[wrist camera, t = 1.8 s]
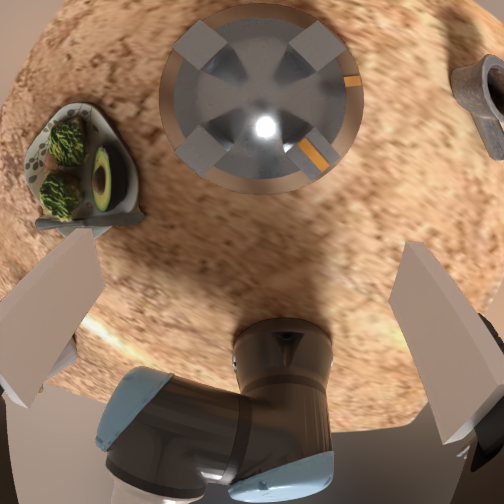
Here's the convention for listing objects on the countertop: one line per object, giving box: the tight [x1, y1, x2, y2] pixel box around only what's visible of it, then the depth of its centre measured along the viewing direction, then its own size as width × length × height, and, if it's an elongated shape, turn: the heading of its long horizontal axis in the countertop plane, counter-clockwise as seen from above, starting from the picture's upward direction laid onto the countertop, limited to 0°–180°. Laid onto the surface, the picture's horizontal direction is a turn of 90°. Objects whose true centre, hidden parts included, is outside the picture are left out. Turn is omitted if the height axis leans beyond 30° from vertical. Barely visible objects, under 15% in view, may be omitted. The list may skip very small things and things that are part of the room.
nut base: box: [159, 3, 364, 195], centre depth 26 cm, size 20×20×2 cm
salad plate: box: [25, 102, 145, 240], centre depth 31 cm, size 19×18×5 cm
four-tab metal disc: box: [172, 17, 347, 181], centre depth 22 cm, size 15×15×7 cm
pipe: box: [451, 54, 504, 161], centre depth 21 cm, size 6×13×8 cm, turn 40°
